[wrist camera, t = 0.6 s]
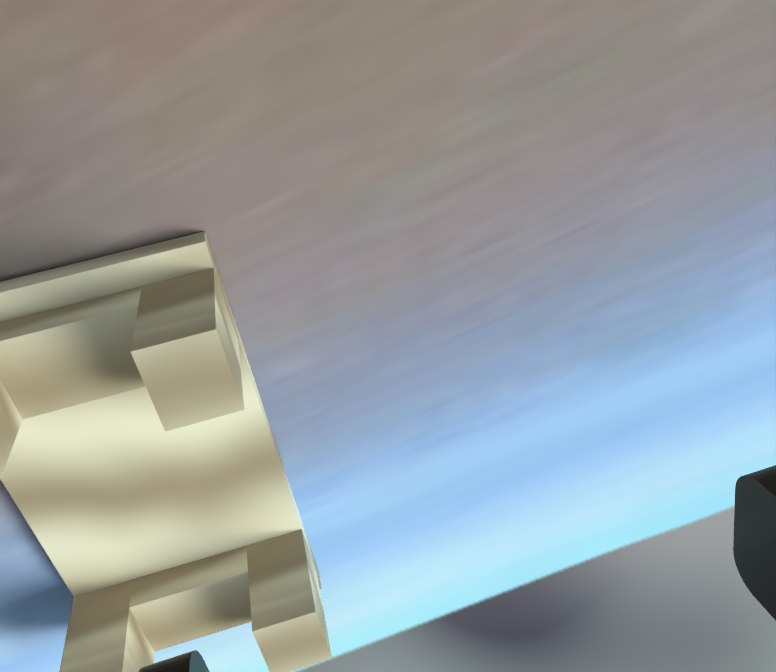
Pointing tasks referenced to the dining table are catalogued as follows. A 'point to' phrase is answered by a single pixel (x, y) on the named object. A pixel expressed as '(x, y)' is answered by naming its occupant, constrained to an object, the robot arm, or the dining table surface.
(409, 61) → the dining table surface
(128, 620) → the rack
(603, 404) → the dining table surface
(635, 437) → the dining table surface
